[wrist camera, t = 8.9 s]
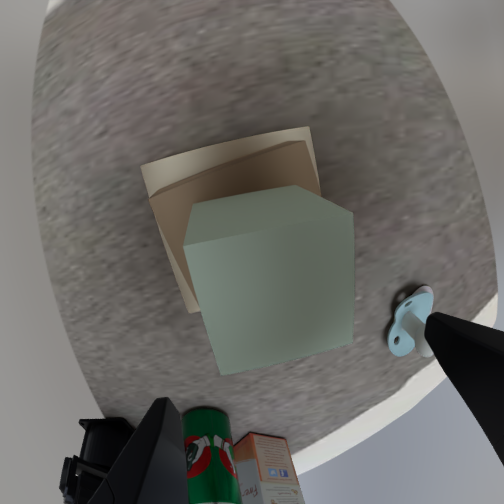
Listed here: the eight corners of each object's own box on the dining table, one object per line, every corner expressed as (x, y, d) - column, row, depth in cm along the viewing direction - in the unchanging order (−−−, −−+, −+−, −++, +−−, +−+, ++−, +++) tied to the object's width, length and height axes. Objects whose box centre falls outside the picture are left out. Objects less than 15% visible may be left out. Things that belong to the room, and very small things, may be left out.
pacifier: (435, 276, 25) (393, 284, 24) (477, 305, 19) (436, 320, 18) (418, 334, 28) (377, 347, 27) (450, 367, 22) (409, 386, 21)
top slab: (210, 303, 19) (211, 330, 16) (157, 190, 16) (147, 199, 13) (323, 259, 19) (341, 279, 16) (288, 140, 16) (305, 140, 13)
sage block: (214, 295, 15) (221, 375, 10) (192, 203, 13) (182, 246, 8) (305, 276, 16) (352, 343, 10) (295, 184, 14) (353, 212, 8)
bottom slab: (190, 292, 22) (189, 313, 19) (149, 162, 18) (140, 166, 15) (316, 258, 22) (331, 275, 19) (294, 128, 18) (309, 126, 16)
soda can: (178, 427, 27) (180, 522, 16) (186, 401, 25) (189, 510, 14) (222, 433, 28) (235, 524, 17) (234, 408, 26) (253, 511, 15)
